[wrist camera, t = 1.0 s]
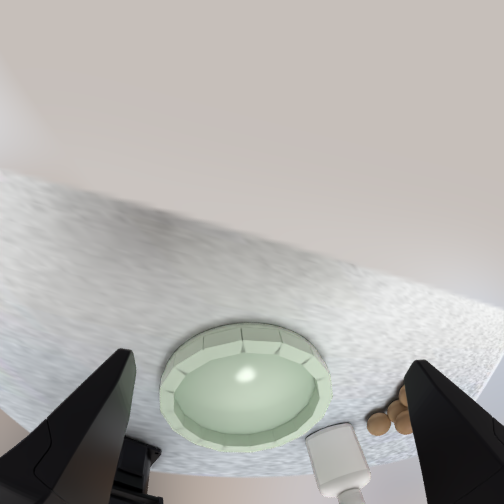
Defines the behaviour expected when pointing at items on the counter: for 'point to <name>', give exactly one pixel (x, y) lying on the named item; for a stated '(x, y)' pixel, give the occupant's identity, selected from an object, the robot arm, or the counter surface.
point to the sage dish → (245, 388)
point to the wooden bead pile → (392, 417)
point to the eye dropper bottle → (338, 463)
